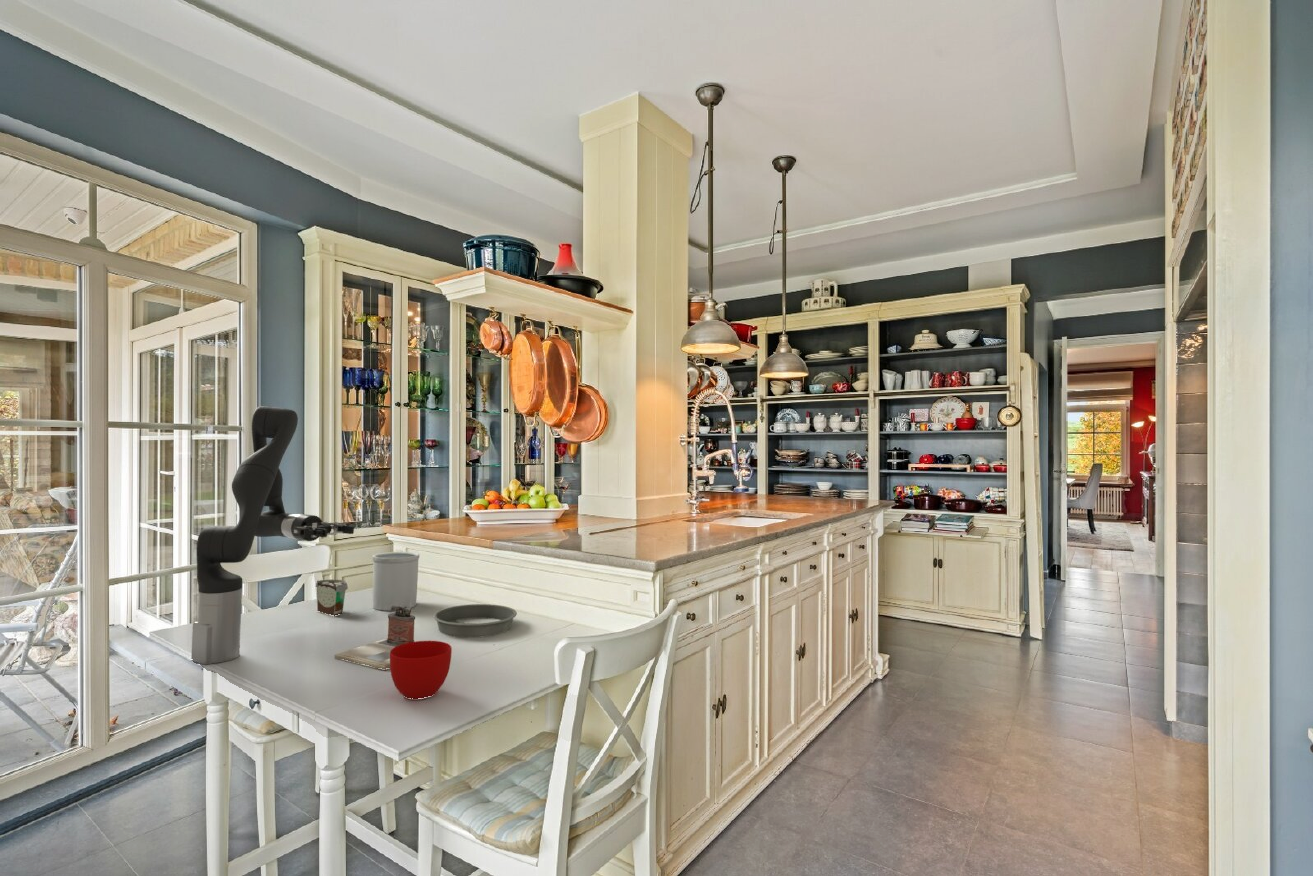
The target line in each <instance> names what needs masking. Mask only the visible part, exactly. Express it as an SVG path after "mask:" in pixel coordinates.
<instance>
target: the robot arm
mask: <svg viewBox="0 0 1313 876" xmlns="http://www.w3.org/2000/svg"><path fill="white" fill-rule="evenodd" d="M298 419H299V417H298V414H297V412H296V411H295V410H294V409H289V408H284V407H277V406H276V407H275V406H265V405H259V406H258V407H256V409H255V410H254V411H253V414H252V419H251V438H252V447H253V448H252V449H253V453H252V454H251V455H248V456H247V457H246V458H245V459H244V460H242V461H241V463H240V464H239V466H238V468H237V470H236V472H235V474H234V477H233V480H232V483H231V491H232V493H233V496H234V499H235V501H236V503H237V505H238V507H239V511H240V515H239V520H238V523H237V524H236V525H210V526H206V527H204V528H202V530H201V531H200V532H199V534H198V536H197V540H196V581H197V586H198V589H197V592H198V593H197V612H196V621H194V622H193V623H192V634H191V635H192V636H191V639H192V640H191V656H190V657H191V658H190V659H193V660H191V662H195V663H199V664H203V665H210V664H217V663H223V662H228V661H231V660H234V659H237V658H238V657H239V656H240V650H241V649H240V648H241V629H242V628H241V625H242V624H241V623H242V606H243V605H242V601H243V578H242V577H241V576H240V575H239V574H237V573H236V574H235V573H233V572H230V571H228V570H227V569H225V568H224V567H223V566H222V565H221V564H231V563H232V564H233V563H241V562H243V561H245V559H247V557H248V556H249V554H250V552H251V550H252V546H253V543H254V540H255V537H259V538H266V537H269V538H270V537H271V538H272V537H281V538H289V539H292V540H298V541H305V542H312V541H313V542H314V541H316V540H317V539H319V538H327V537H328V536H334V535H338V534H347V535H353V534H354V532H355V527H354V526H353V525H351V524H350V523H345V522H336V521H335V522H328V521H323V520H322V518H321V517H320V516H317V515H313V514H303V513H288V512H287V513H286V511H285V510H286V509H285V505H284V501H283V485H284V484H283V482H284V481H283V480H284V479H283V474H282V471H281V469H280V468H279V467H280V465H281V462H282V459H283V457H284V456H285V453H286V451H287V449H288V448H289V445H290V443H291V441H292V439H293V438H294V435H295V433H296V431H297V428H298V422H299V421H298ZM267 438H268V439H271V440H270V441H269V442H268V441H267ZM267 442H268V443H267ZM264 507H268V510H266V511H263V510H264ZM332 530H333V531H332Z"/></svg>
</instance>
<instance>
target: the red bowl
mask: <svg viewBox="0 0 1313 876" xmlns="http://www.w3.org/2000/svg"><path fill="white" fill-rule="evenodd" d="M452 651H453V649H452V646H451V645H450V643H447V642H444V641H438V640H418V641H417V640H416V641H414V642H410V643H405V644H401V645H398V646H396V647H394V648H393V649H392V650H391V651H390V669H389V670H390V676H391V679H392V682H393V684H394V687H395V688H396V690H397V691H398V692H399V693H400V694H401V695H402V696H403V697H404V696H405V697H407V698H411V699H412V698H413V699H418V698H424V697H428V696H432V695H433V694H435V695H436V693H437V692H438V691H439V690H440V688H441V687H442V686H443V685H444V683H445V681H446V679H447V677H448V674H449V672H450V666H451V662H452ZM405 697H404V698H405ZM432 697H433V696H432Z"/></svg>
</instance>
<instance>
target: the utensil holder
mask: <svg viewBox="0 0 1313 876" xmlns="http://www.w3.org/2000/svg"><path fill="white" fill-rule="evenodd" d="M371 559H372V562H373V564H372V607H373V609H375V610H377V611H387V612H388V611H389V612H390V611H391V607H392V606H393V605H394V606H400V607H402V606H406V607H407V608H411V609H412V608H413V607H416V605H417V596H418V595H417V594H418V579H419V578H418V577H419V559H420V553H419V552H416V551H390V552H379V553H374V554H373V555H372V558H371ZM391 612H392V611H391Z"/></svg>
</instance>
